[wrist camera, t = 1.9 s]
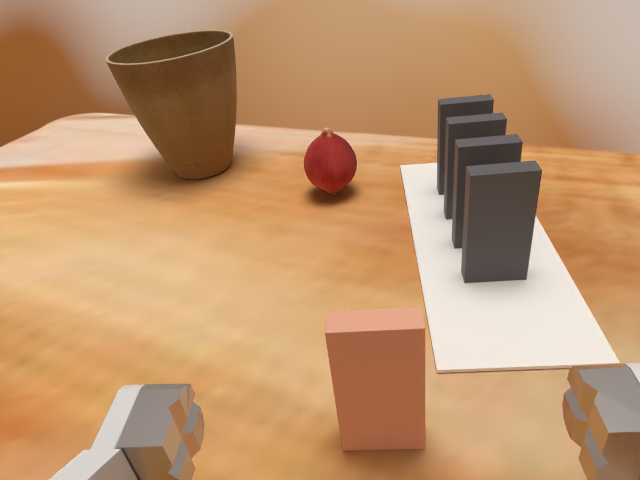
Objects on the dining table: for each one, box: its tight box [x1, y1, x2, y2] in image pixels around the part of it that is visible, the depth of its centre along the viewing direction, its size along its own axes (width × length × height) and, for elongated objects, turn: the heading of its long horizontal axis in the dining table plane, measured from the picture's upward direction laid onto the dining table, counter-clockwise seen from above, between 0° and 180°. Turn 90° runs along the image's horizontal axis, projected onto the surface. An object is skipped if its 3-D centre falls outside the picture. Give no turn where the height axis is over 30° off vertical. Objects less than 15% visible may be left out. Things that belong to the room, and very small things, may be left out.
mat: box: [400, 163, 620, 373], centre depth 48 cm, size 12×32×1 cm, turn 177°
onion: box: [304, 128, 357, 194], centre depth 56 cm, size 6×6×8 cm
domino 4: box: [461, 161, 542, 283], centre depth 40 cm, size 5×2×10 cm, turn 87°
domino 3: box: [452, 134, 523, 249], centre depth 44 cm, size 5×2×10 cm, turn 87°
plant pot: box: [106, 30, 236, 179], centre depth 64 cm, size 15×15×16 cm
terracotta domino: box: [325, 307, 425, 451], centre depth 29 cm, size 5×2×10 cm, turn 87°
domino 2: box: [444, 113, 507, 220], centre depth 48 cm, size 5×2×10 cm, turn 87°
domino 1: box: [437, 94, 494, 195], centre depth 53 cm, size 5×2×10 cm, turn 87°
